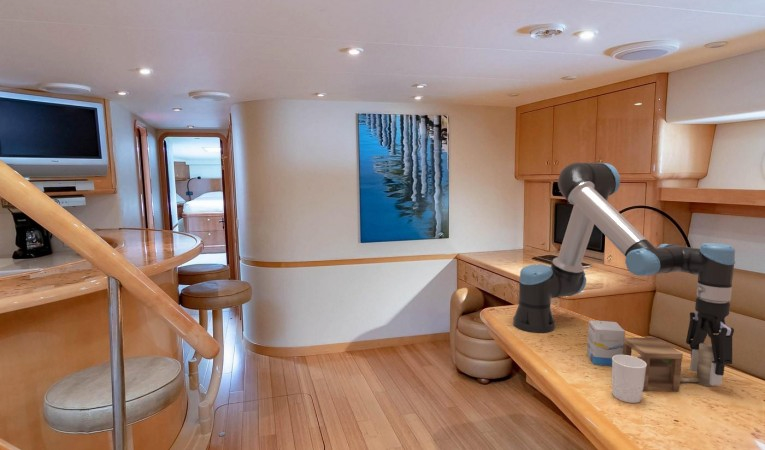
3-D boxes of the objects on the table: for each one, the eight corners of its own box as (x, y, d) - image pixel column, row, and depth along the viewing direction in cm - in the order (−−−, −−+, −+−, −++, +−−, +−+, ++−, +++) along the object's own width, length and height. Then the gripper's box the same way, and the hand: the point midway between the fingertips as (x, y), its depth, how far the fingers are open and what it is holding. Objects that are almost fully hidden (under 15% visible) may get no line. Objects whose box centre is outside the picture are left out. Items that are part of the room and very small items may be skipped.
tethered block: (635, 376, 124) (638, 340, 123) (704, 378, 124) (707, 341, 122) (647, 387, 118) (650, 349, 117) (719, 388, 118) (723, 350, 116)
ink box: (623, 367, 130) (625, 330, 129) (593, 364, 132) (595, 328, 131) (614, 355, 139) (616, 321, 137) (586, 353, 140) (588, 319, 139)
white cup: (604, 388, 117) (606, 354, 116) (633, 389, 117) (635, 354, 116) (619, 404, 110) (621, 367, 108) (650, 404, 109) (653, 367, 108)
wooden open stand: (621, 372, 127) (623, 337, 126) (655, 373, 127) (658, 338, 125) (641, 391, 116) (644, 353, 115) (679, 392, 116) (682, 353, 114)
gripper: (675, 289, 128) (669, 361, 131) (726, 310, 108) (717, 395, 111) (701, 289, 127) (694, 362, 130) (757, 311, 108) (747, 396, 110)
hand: (705, 377), depth 120 cm, fingers open, 7 cm apart
